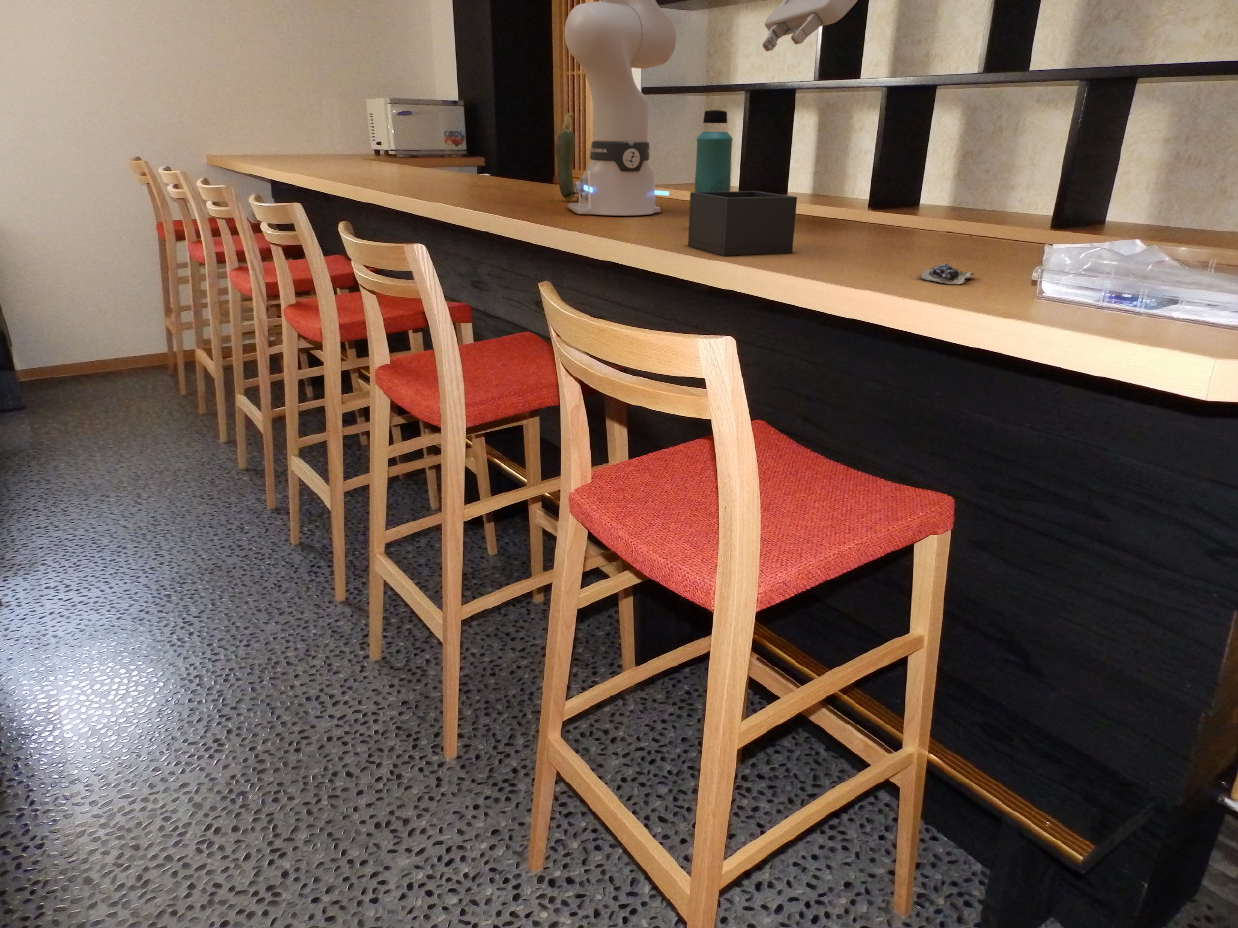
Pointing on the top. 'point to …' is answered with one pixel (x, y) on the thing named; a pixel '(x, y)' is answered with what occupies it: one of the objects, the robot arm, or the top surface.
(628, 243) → the top surface
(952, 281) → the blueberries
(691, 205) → the box
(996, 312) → the top surface
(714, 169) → the beverage bottle
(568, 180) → the vegetable
